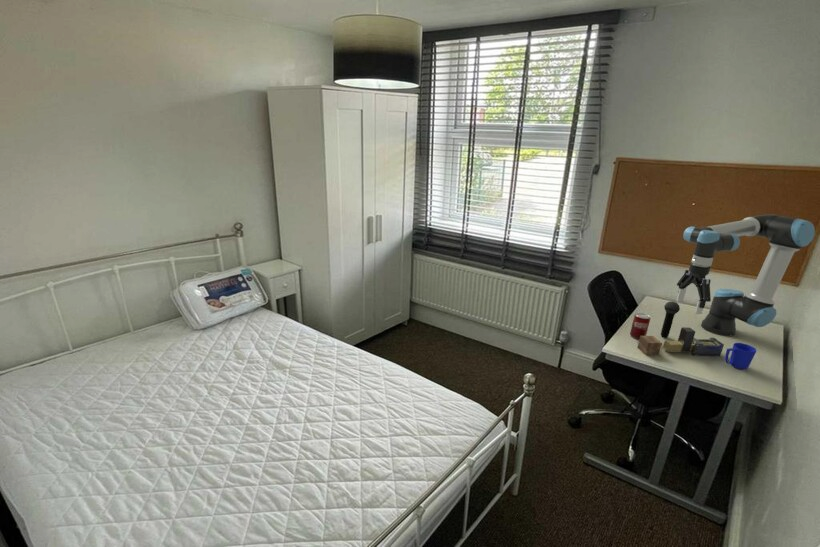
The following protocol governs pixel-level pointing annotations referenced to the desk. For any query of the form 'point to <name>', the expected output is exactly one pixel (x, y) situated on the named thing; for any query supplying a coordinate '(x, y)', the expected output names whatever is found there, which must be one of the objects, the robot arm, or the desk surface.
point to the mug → (740, 355)
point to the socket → (649, 345)
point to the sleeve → (707, 348)
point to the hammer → (684, 342)
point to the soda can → (640, 325)
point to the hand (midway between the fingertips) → (688, 307)
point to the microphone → (669, 317)
